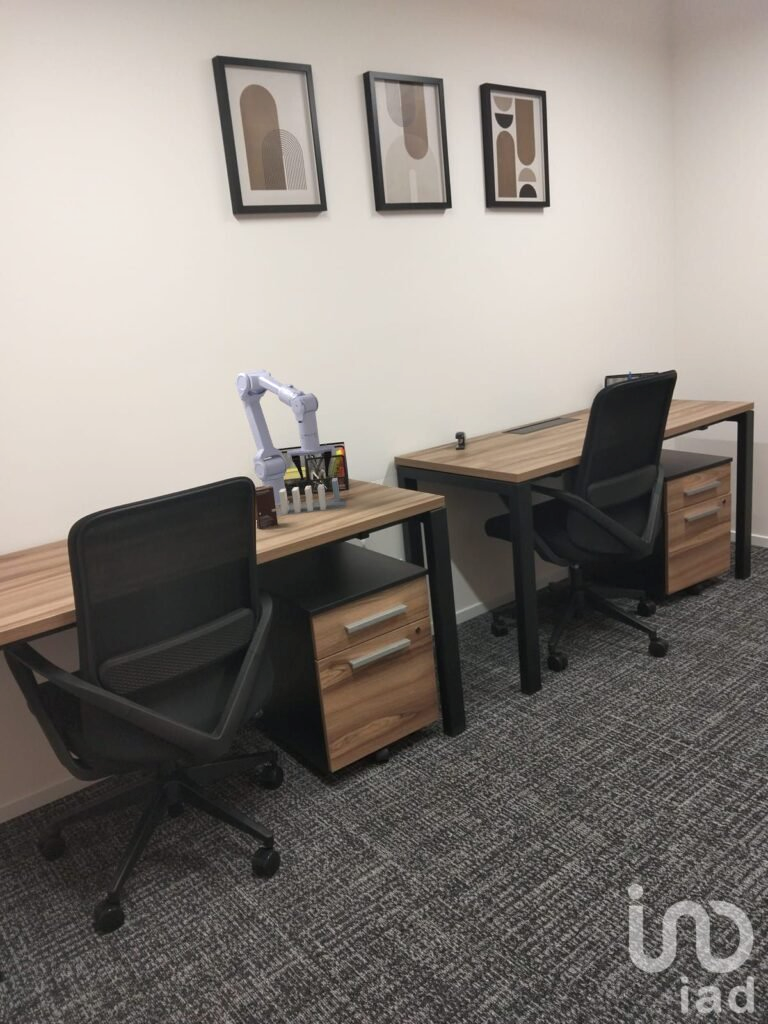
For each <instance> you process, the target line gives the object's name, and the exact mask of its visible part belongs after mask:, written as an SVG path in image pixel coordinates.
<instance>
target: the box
mask: <svg viewBox="0 0 768 1024" xmlns="http://www.w3.org/2000/svg"><path fill="white" fill-rule="evenodd" d="M255 488H256V520H257V528H256V529H257V530H264V529H268V528H272V527H275V526H278V525H279V523H278V516H277V508H276V505H275V497H274V489H273V487H272V486H269V485H266V486H263V485H261V486H257V487H255Z"/></svg>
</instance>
